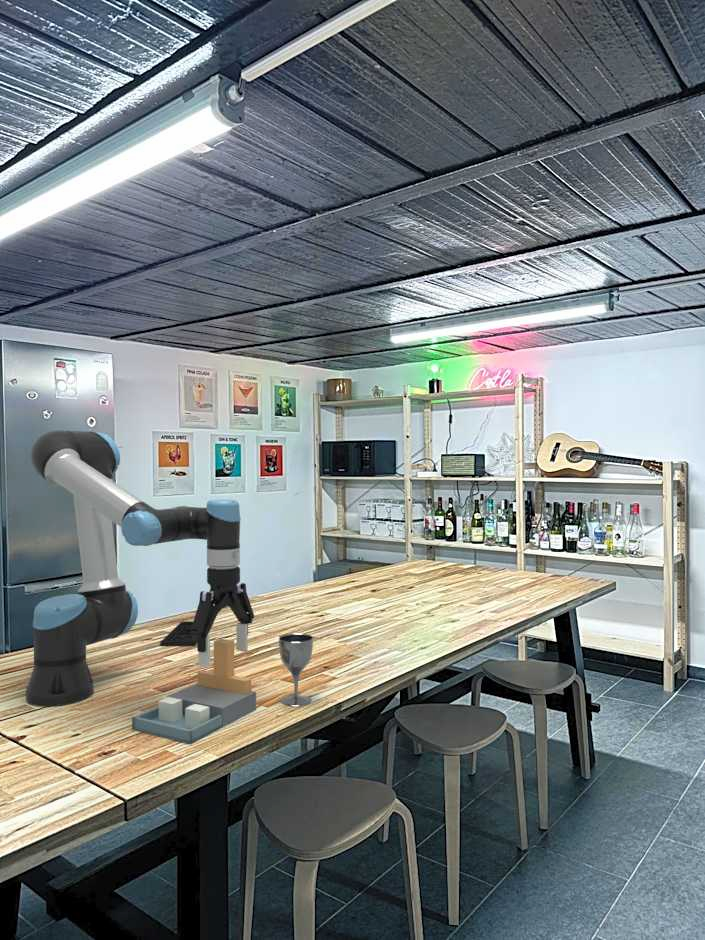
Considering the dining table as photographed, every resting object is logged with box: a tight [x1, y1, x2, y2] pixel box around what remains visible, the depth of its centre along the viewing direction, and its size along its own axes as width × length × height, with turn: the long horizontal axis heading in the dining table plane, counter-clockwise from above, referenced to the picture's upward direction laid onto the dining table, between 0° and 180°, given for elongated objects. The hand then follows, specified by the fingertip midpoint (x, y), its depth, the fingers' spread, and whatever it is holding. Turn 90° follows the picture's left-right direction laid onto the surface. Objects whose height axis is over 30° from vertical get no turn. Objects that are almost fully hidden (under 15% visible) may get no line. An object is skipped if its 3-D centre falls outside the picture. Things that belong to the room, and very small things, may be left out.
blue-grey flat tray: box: [131, 705, 223, 745], centre depth 147 cm, size 16×10×2 cm, turn 61°
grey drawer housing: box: [165, 682, 257, 728], centre depth 157 cm, size 16×12×4 cm
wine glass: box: [278, 632, 314, 707], centre depth 164 cm, size 8×8×15 cm
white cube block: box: [158, 697, 182, 723], centre depth 151 cm, size 4×4×3 cm
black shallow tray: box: [159, 620, 237, 647], centre depth 225 cm, size 26×3×30 cm
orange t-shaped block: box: [197, 638, 252, 694], centre depth 161 cm, size 14×2×11 cm, turn 62°
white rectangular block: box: [185, 704, 210, 729], centre depth 147 cm, size 4×4×3 cm
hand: (223, 658), depth 161 cm, fingers open, 13 cm apart
